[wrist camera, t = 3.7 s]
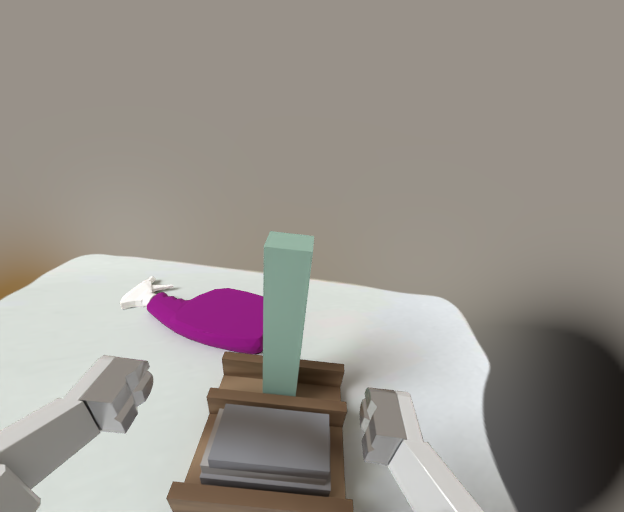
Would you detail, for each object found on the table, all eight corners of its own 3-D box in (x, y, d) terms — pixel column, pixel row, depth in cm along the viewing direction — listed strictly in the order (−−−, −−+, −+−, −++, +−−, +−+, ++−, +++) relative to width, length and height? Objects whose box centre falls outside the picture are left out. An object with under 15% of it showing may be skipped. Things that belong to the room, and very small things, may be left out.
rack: (343, 535, 22) (353, 516, 20) (176, 518, 22) (166, 498, 20) (337, 385, 34) (343, 362, 31) (227, 373, 34) (225, 349, 31)
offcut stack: (328, 497, 23) (336, 475, 21) (201, 484, 23) (194, 461, 21) (328, 434, 27) (334, 410, 25) (221, 423, 27) (217, 398, 25)
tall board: (294, 407, 29) (312, 251, 19) (262, 404, 29) (263, 246, 19) (296, 386, 31) (314, 236, 21) (266, 383, 31) (270, 231, 21)
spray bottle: (258, 363, 36) (104, 321, 40) (284, 310, 45) (157, 280, 49) (257, 349, 34) (98, 306, 38) (285, 296, 43) (154, 266, 47)
